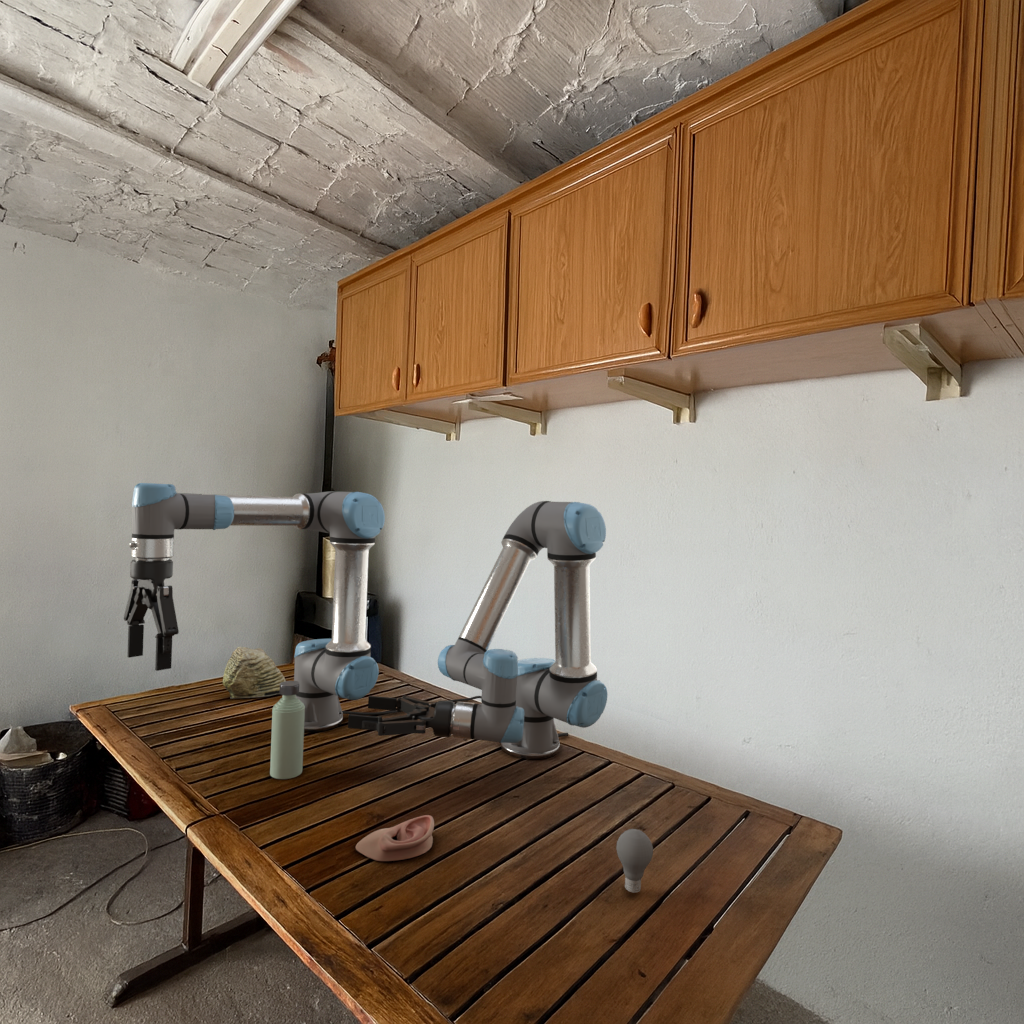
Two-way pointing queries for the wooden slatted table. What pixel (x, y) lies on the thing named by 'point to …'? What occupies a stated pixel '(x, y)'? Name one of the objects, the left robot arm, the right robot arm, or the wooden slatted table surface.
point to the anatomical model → (399, 840)
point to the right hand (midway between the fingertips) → (358, 711)
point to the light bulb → (634, 857)
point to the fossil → (251, 674)
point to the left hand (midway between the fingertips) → (148, 662)
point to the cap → (289, 688)
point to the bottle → (287, 738)
